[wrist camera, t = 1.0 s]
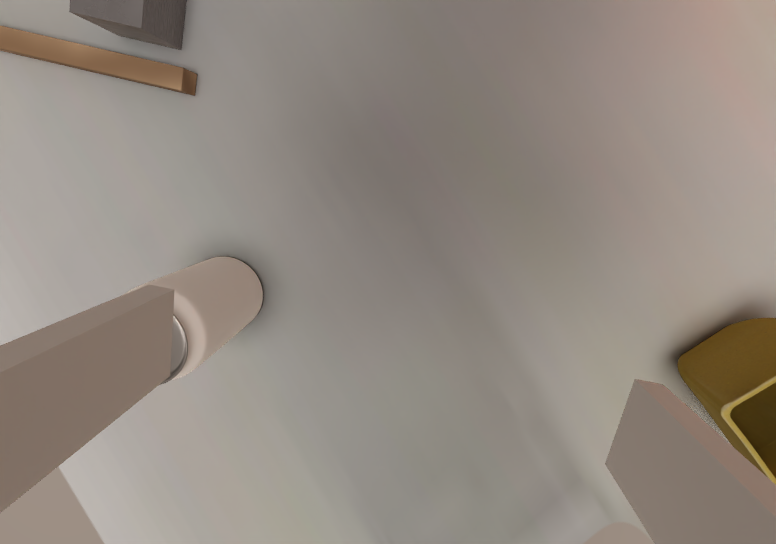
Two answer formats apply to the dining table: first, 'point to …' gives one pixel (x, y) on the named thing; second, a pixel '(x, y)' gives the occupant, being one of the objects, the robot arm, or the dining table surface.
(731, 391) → the flower pot
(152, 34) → the block
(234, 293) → the can
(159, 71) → the oak track
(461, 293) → the dining table surface
